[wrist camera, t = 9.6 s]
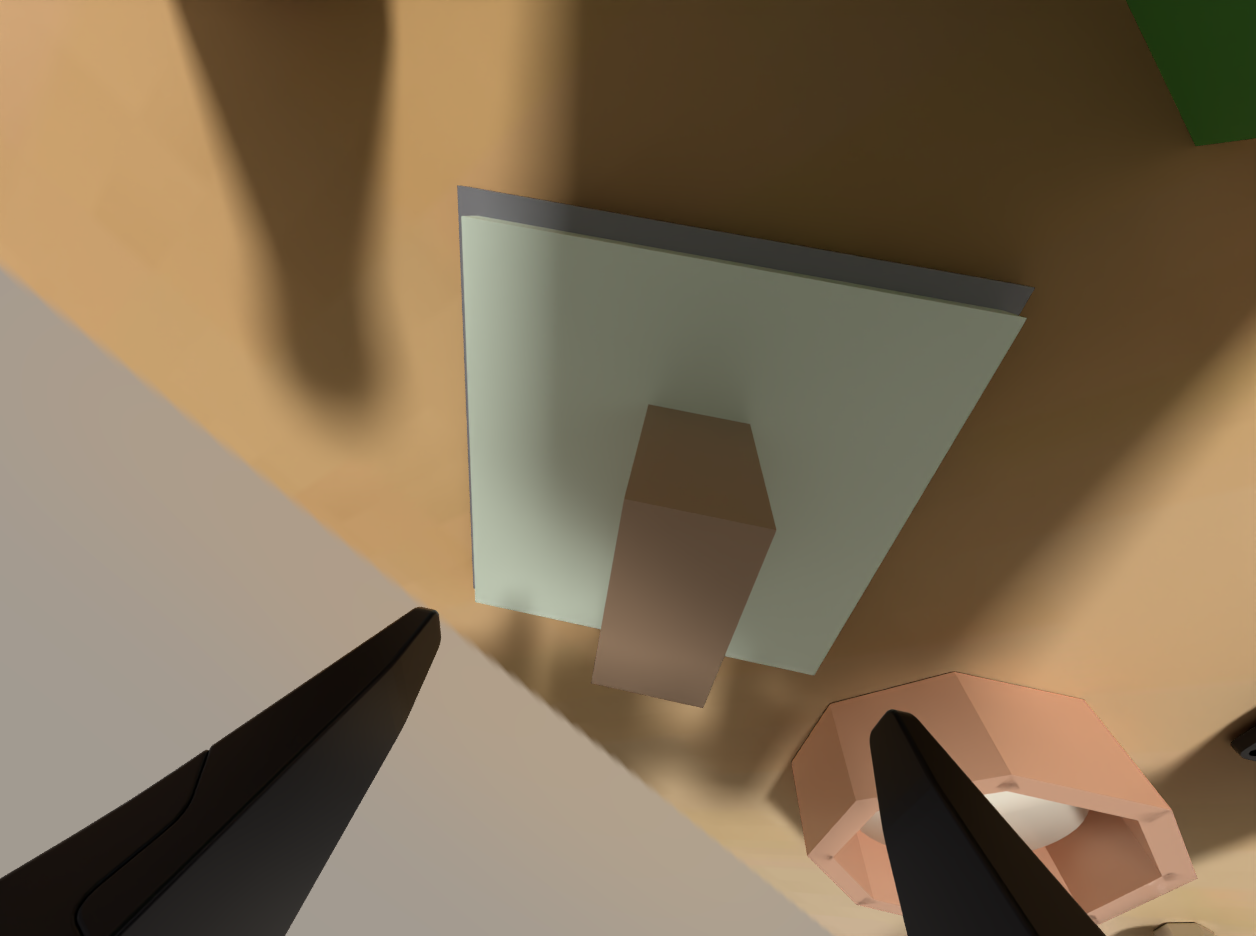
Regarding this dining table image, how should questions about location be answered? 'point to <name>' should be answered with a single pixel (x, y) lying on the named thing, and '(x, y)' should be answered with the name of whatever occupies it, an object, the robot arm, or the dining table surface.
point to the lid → (698, 444)
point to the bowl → (997, 791)
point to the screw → (1183, 930)
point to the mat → (733, 256)
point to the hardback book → (1205, 62)
